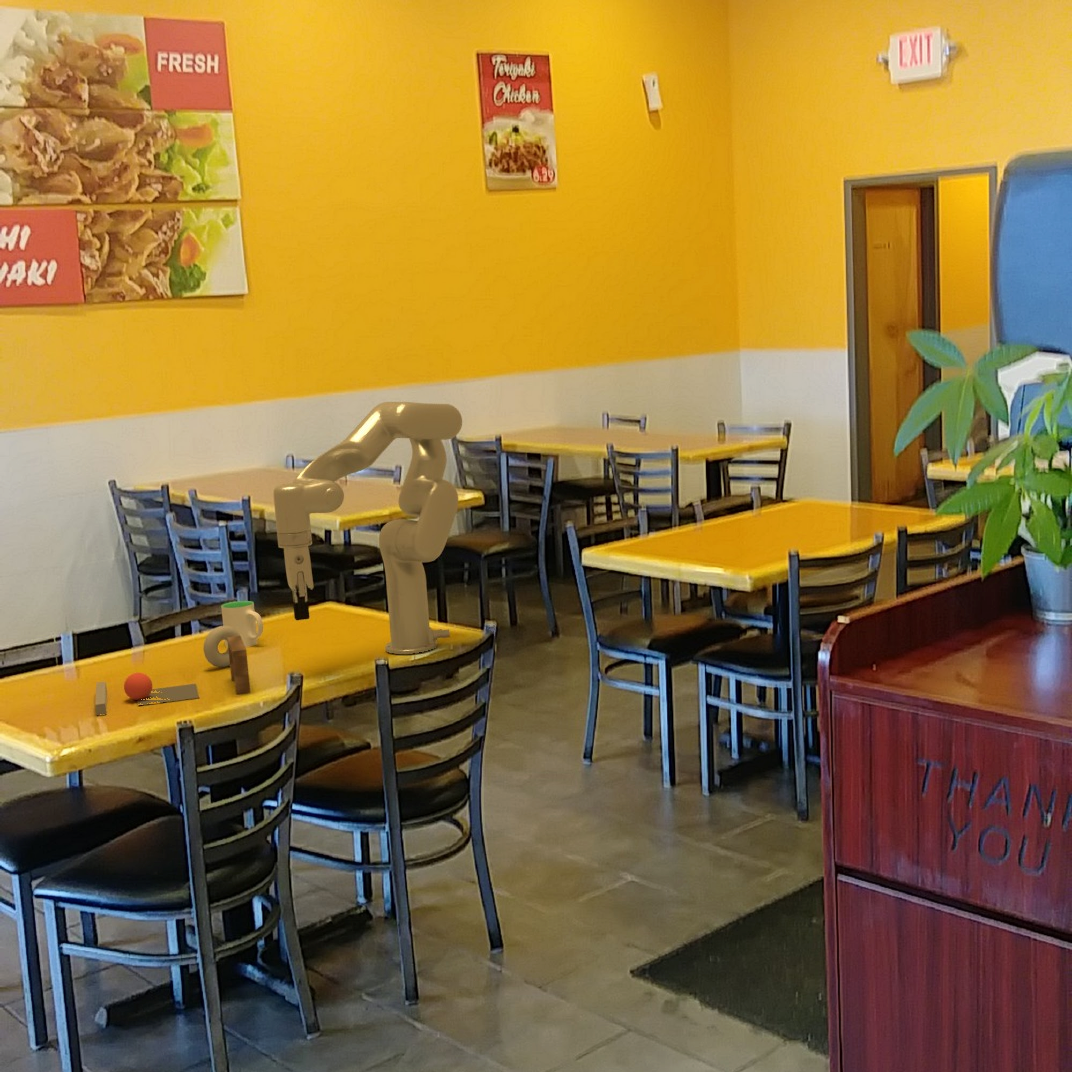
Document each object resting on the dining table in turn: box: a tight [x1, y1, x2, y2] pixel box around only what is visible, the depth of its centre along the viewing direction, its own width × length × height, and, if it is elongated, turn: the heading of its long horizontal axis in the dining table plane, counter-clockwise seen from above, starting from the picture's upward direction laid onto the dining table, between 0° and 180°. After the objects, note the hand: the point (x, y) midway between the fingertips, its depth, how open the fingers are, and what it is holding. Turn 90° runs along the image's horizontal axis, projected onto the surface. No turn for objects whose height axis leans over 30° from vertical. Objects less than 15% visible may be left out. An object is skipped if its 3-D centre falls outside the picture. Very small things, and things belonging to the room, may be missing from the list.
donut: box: [203, 625, 240, 668], centre depth 335 cm, size 10×4×10 cm, turn 133°
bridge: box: [227, 636, 251, 695], centre depth 316 cm, size 3×15×10 cm, turn 16°
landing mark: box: [136, 683, 200, 706], centre depth 313 cm, size 13×13×1 cm
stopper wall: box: [94, 681, 108, 716], centre depth 309 cm, size 2×20×2 cm, turn 16°
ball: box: [123, 672, 153, 701], centre depth 310 cm, size 6×6×6 cm
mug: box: [220, 600, 264, 648], centre depth 357 cm, size 12×8×10 cm
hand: (302, 618), depth 319 cm, fingers closed
